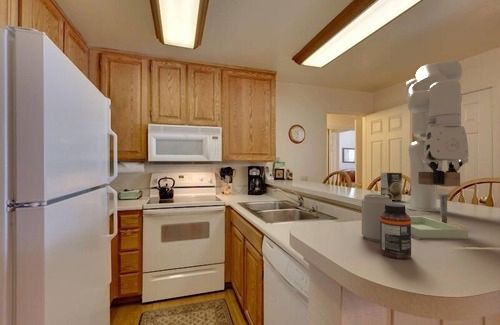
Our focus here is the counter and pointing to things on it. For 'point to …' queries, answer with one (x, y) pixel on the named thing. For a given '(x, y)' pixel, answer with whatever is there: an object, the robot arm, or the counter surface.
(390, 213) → the supplement bottle
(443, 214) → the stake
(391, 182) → the coffee box
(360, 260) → the counter surface
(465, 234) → the tray
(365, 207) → the can
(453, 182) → the brown wooden block
